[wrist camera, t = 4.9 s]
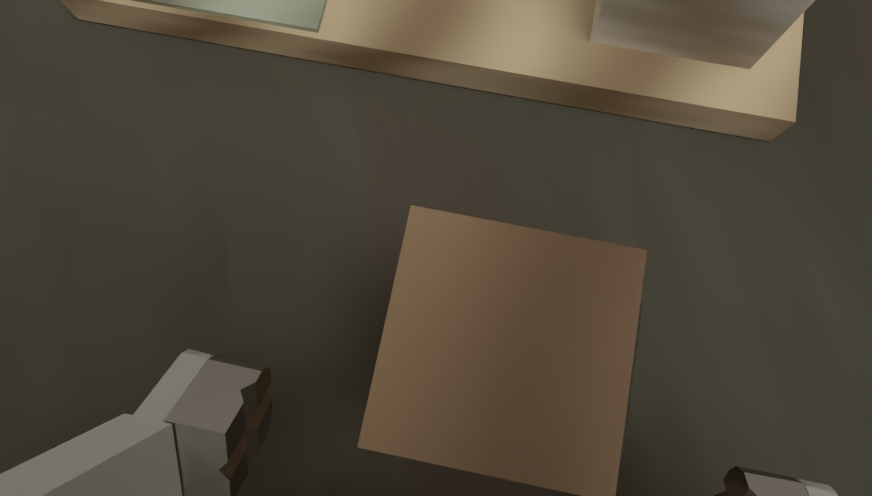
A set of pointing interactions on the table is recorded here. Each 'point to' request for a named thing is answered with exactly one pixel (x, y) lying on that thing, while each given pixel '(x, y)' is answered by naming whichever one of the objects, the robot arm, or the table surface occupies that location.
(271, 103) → the table surface
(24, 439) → the table surface
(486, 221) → the walnut block
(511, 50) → the rail
